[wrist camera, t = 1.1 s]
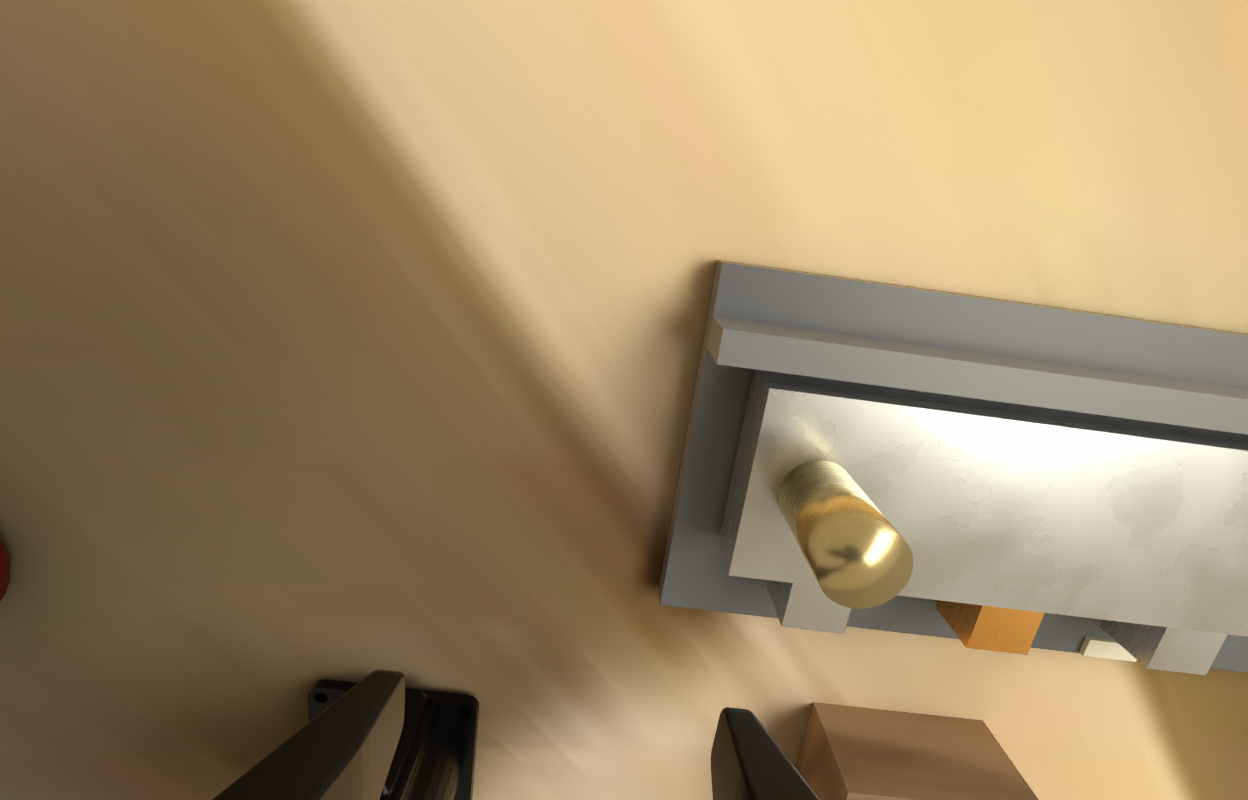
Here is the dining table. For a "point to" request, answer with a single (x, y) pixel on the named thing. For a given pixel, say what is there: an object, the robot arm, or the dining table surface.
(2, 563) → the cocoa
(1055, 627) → the guide plate
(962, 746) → the marked link
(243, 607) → the dining table surface
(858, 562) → the toothed rack
